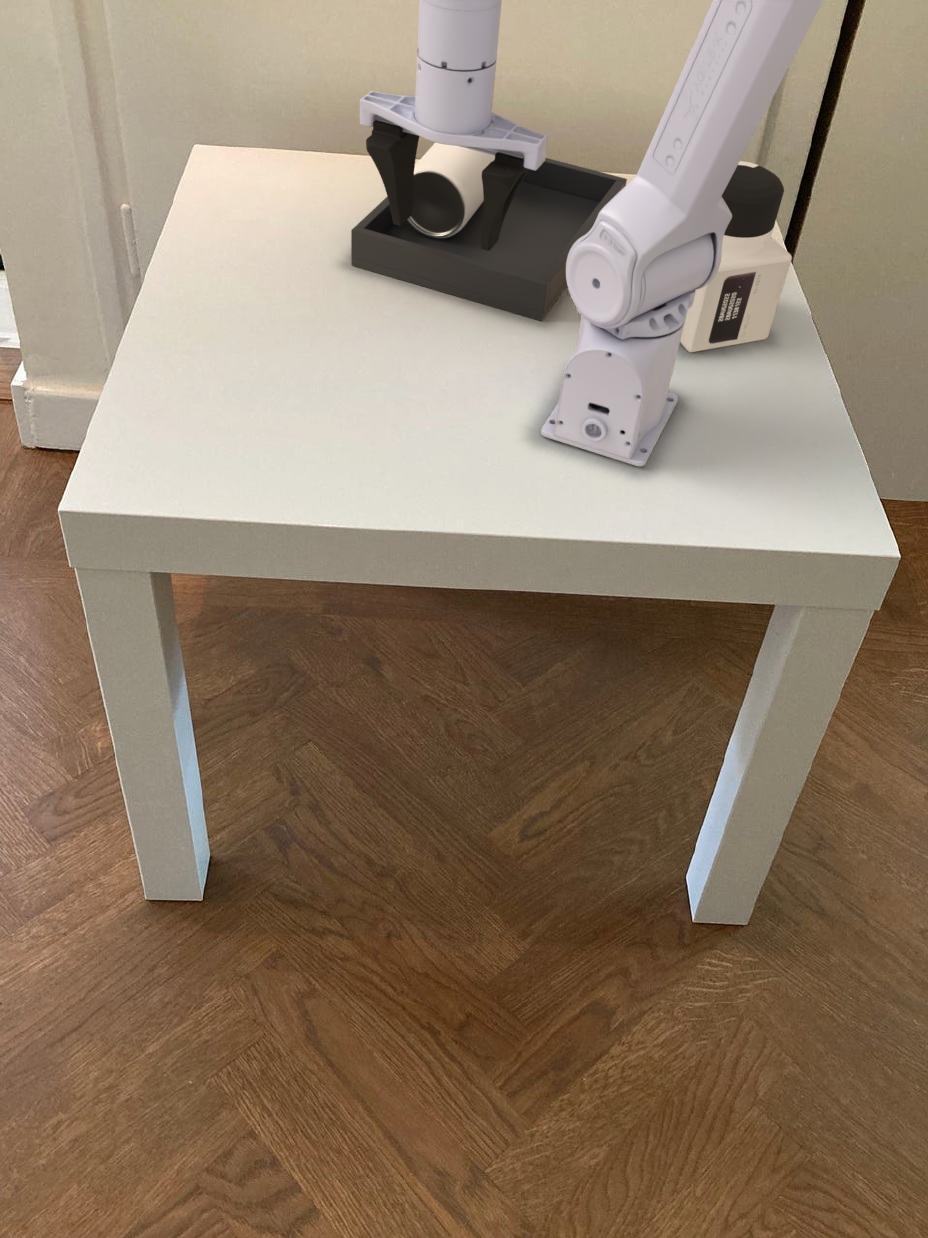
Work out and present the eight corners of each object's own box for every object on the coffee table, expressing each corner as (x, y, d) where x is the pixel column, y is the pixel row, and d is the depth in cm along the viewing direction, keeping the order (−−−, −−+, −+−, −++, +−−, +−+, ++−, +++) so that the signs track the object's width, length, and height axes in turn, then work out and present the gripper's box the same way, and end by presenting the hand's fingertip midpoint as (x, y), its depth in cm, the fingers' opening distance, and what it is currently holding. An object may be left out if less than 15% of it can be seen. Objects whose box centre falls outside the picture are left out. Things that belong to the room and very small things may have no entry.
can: (482, 208, 98) (524, 151, 106) (426, 151, 96) (473, 98, 104) (437, 254, 102) (481, 197, 110) (383, 201, 100) (431, 147, 108)
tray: (542, 321, 95) (547, 285, 93) (351, 265, 99) (351, 229, 97) (621, 211, 109) (627, 178, 107) (451, 166, 113) (453, 133, 111)
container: (769, 340, 96) (814, 190, 86) (688, 354, 93) (726, 202, 84) (721, 292, 100) (760, 145, 91) (643, 304, 98) (674, 155, 89)
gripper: (570, 59, 83) (547, 233, 93) (389, 16, 87) (385, 188, 97) (536, 93, 79) (515, 273, 89) (346, 46, 82) (347, 224, 92)
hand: (445, 231), depth 92 cm, fingers open, 7 cm apart
